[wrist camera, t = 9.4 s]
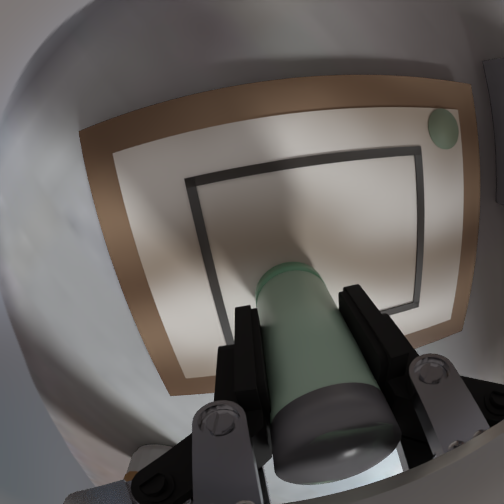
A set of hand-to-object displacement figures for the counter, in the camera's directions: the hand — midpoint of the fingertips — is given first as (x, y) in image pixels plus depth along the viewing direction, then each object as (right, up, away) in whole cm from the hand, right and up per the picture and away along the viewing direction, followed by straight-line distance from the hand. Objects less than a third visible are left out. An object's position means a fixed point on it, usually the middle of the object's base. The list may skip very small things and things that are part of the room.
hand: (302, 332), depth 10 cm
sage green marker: (0, +1, +3) cm, 3 cm away
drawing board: (+1, +3, +4) cm, 5 cm away
